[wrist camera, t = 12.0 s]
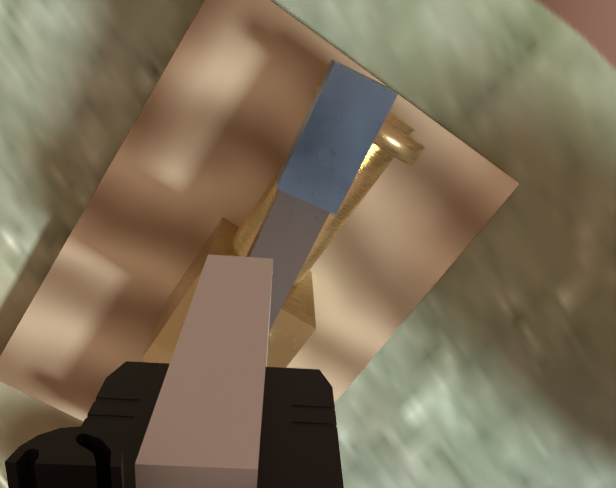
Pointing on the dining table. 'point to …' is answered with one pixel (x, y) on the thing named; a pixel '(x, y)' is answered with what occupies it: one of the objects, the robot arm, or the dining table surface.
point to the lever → (319, 171)
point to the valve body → (300, 301)
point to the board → (242, 212)
